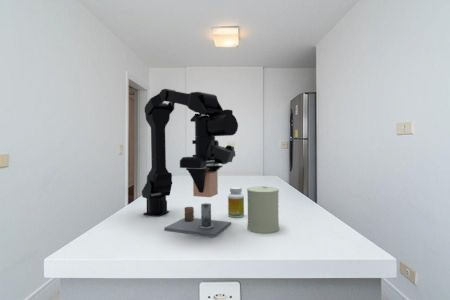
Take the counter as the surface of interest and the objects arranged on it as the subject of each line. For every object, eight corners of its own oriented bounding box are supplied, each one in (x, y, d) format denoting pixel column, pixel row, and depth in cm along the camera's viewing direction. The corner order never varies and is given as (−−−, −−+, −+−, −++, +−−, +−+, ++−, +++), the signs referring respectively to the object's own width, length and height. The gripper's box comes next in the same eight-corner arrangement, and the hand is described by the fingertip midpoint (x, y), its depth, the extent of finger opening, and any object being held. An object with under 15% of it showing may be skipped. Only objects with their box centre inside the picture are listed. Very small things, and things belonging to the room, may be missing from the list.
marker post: (195, 228, 75) (195, 205, 75) (203, 223, 79) (202, 202, 79) (209, 229, 73) (209, 206, 73) (216, 225, 77) (216, 203, 77)
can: (281, 225, 80) (280, 185, 79) (276, 234, 71) (276, 190, 71) (251, 222, 83) (251, 184, 82) (243, 231, 74) (243, 189, 74)
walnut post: (182, 221, 82) (182, 208, 82) (187, 218, 84) (187, 206, 84) (190, 222, 81) (190, 209, 81) (195, 219, 83) (195, 207, 83)
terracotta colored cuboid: (193, 196, 74) (193, 172, 74) (201, 193, 79) (201, 171, 79) (210, 197, 72) (209, 173, 72) (217, 194, 77) (217, 171, 77)
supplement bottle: (242, 218, 87) (242, 189, 87) (226, 217, 88) (226, 188, 88) (244, 214, 93) (244, 186, 92) (229, 213, 94) (229, 186, 94)
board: (164, 230, 75) (164, 227, 75) (185, 219, 87) (185, 217, 87) (214, 237, 69) (214, 234, 69) (231, 224, 80) (231, 222, 80)
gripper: (217, 135, 64) (218, 198, 64) (242, 137, 81) (242, 187, 81) (178, 136, 68) (178, 196, 68) (209, 137, 85) (210, 185, 86)
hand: (205, 190), depth 76 cm, fingers closed on terracotta colored cuboid, 5 cm apart
